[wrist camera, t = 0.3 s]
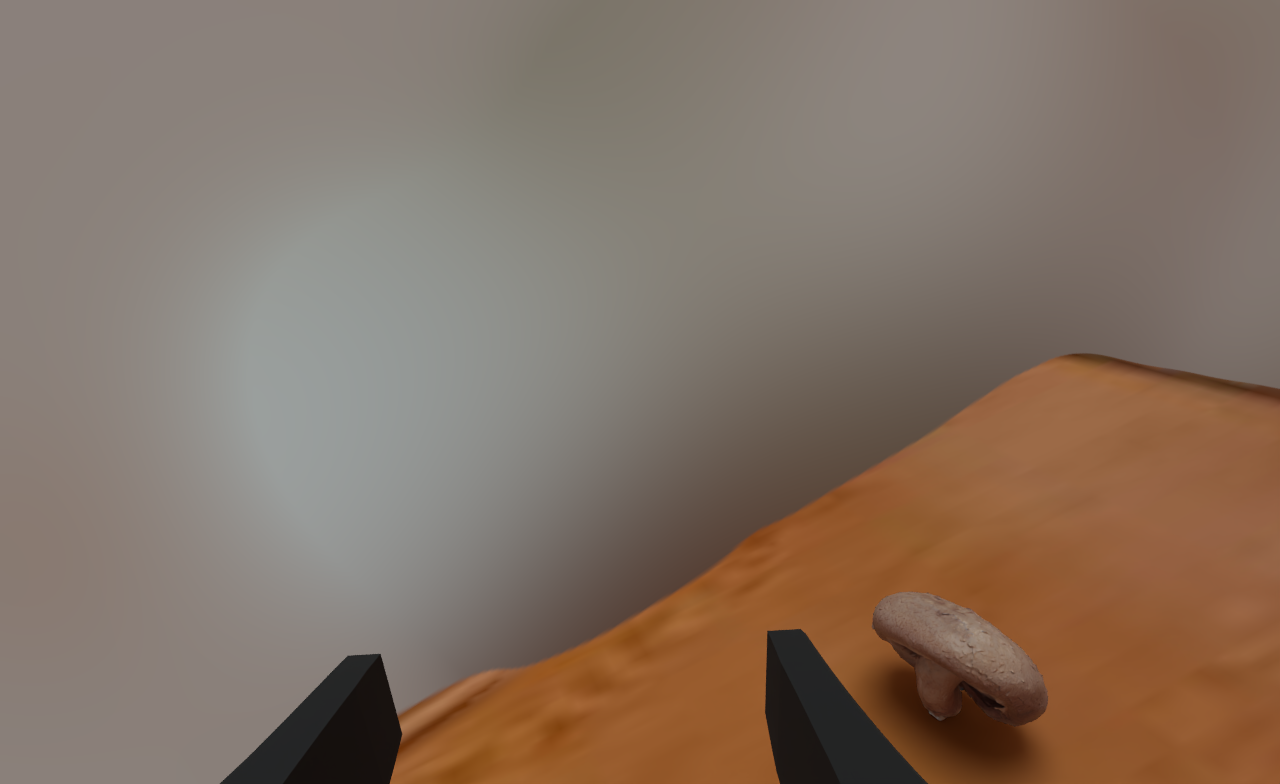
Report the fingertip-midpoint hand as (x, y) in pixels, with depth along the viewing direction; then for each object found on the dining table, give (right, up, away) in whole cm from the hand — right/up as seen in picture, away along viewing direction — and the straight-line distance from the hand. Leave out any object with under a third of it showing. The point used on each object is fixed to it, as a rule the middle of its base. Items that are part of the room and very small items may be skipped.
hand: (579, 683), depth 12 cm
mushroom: (+17, -11, +21) cm, 29 cm away
